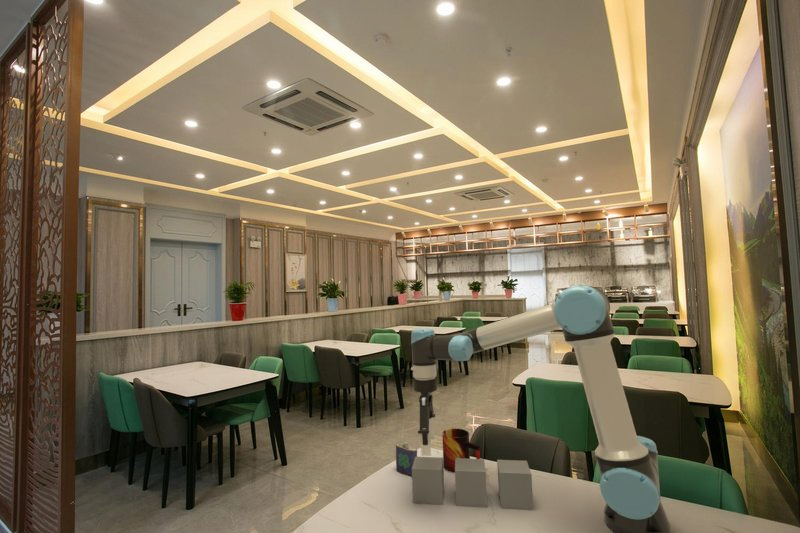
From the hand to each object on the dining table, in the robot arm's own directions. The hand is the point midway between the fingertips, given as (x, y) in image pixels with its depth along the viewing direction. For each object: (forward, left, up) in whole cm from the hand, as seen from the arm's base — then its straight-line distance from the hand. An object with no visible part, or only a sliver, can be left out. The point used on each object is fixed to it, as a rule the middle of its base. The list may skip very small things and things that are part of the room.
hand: (428, 446), depth 122 cm
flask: (+17, -7, -15) cm, 24 cm away
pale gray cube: (-10, -7, -15) cm, 20 cm away
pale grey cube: (-21, -14, -15) cm, 30 cm away
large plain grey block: (0, 0, -15) cm, 15 cm away
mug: (+4, -23, -15) cm, 28 cm away
